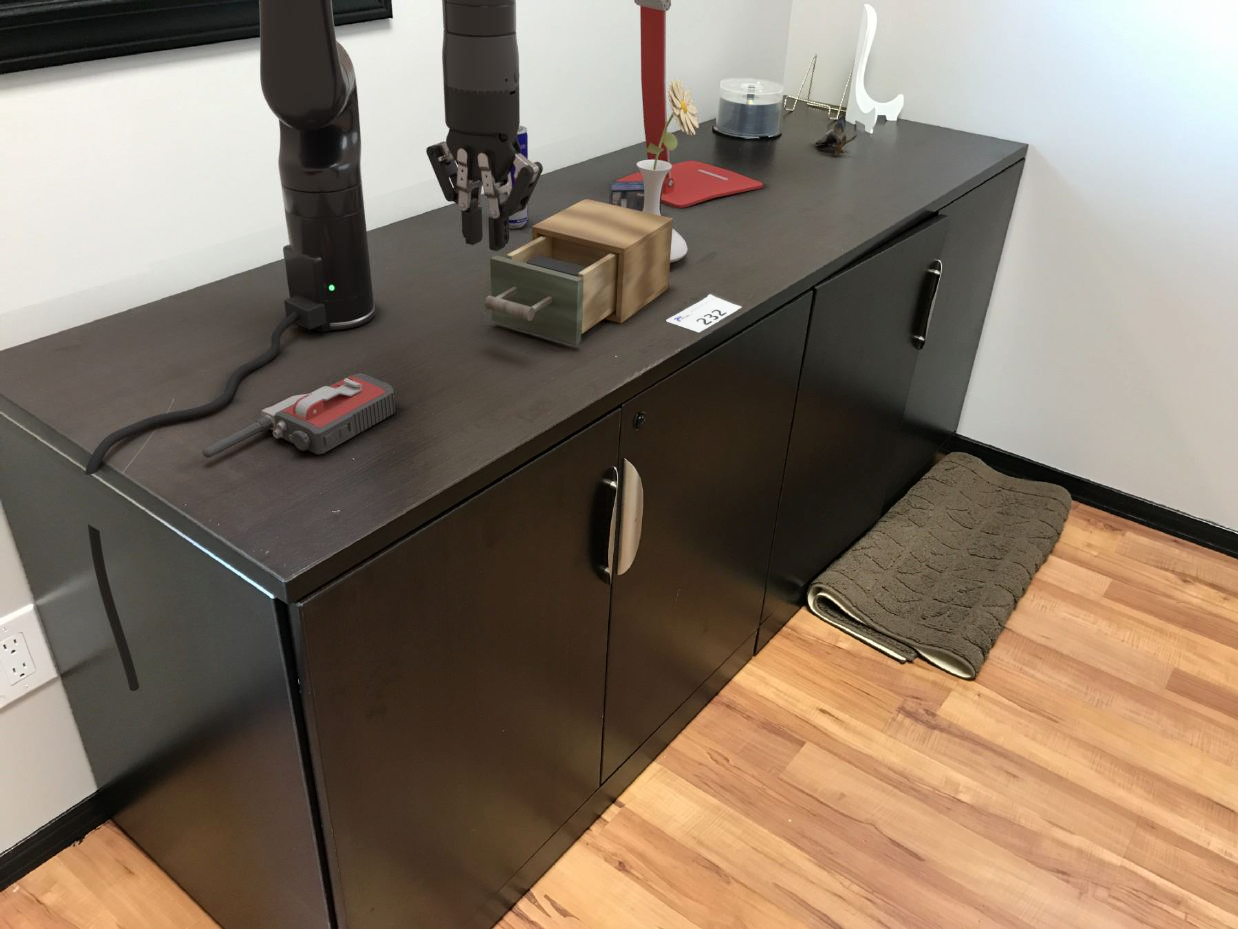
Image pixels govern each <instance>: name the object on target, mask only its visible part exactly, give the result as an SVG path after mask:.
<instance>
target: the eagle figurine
mask: <svg viewBox="0 0 1238 929" xmlns="http://www.w3.org/2000/svg"><path fill="white" fill-rule="evenodd" d="M846 125H847V123H846V116H845V115H844V114H843V115H841V116H840V117H839V118H838V119H837V120H836V122H835V123H834V127H833V129H830V130H828V131H827V132H826V133H824V134H823V136H822V137H821V139H818V140H817V141H816V142H815V145H816V146H817V145H822V146H823V145H826V146H831V147H832V149H834V150H835V151H834V154H833V157H834V158H836V157H837V155H838V154H839V153H840V151H841V152H842V153H844V152H845V151H844V146H845V145H847V144H848V143H850V142H852V141H854V140H855V139H856V138H857V136H858V134H855V135H853V136H851V137H850V138H848V139H847V134H846V133H844V132H845V130H846ZM843 133H844V134H843ZM841 136H842V137H841Z"/></svg>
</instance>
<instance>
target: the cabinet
mask: <svg viewBox="0 0 1238 929" xmlns="http://www.w3.org/2000/svg"><path fill="white" fill-rule="evenodd" d="M673 227H674V218H673V217H668V216H664V215H661V216H660V215H655V214H651V213H646V212H642V211H638V210H633V209H629V208H624V207H620V206H615V205H611V204H609V203H606V202H602V201H597V200H592V199H588V198H585V199H582V200H580V201H579V202H576V203H575V204H572V205H571V206H569V207H567V208H565V209H562V210H561V211H559V212H557V213H555V214H553V215H551V216H549V217H548V218H545V219H543V220H542V221H539V222H538V223H535V224H533V225H532V226H531V242H532V241H534V240H535V239H537V238H539V237H541V236H543V235H546V236H551V237H555V238H559V239H563V240H567V241H571V242H575V243H579V244H583V245H587V246H591V247H595V248H599V249H603V250H608V251H612V252H616V253H619V261H618V283H617V304H616V310H615V311H614V312H612V313H611V314H609V315H608V316H607V317H605V318H604V319H603V320H607V321H611V322H614V323H618V324H622V323H623V322H625V321H627V320H628V319H629V318H631V317H632V316H633V315H635V314H636V313H637V312H638V311H640V310H641V309H643V308H644V307H645V306H647V305H648V304H650V303H651V302H652V301H654V300H655V299H656V298H657V297H659V296H660V295H662V294H663V293H664V292H666V291H668V289H669V282H670V281H669V280H670V269H671V268H670V266H671V263H670V255H671V242H672V229H674V228H673Z"/></svg>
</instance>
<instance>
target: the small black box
mask: <svg viewBox="0 0 1238 929" xmlns="http://www.w3.org/2000/svg"><path fill="white" fill-rule="evenodd" d="M526 263H527V264H531V265H534V266H538V267H542V268H546V269H550V270H554V271H557V272H561V273H565V274H569V275H573V276H577V277H578V273H579V272H581V271H583V270H584V269H586V268H587V267H585V266H581V265H577V264H573V263H569V262H565V261H561V260H557V259H553V258H549V257H545V256H541V255H538V256H537V257H535V258H533V259H531V260H530V261H528V262H526Z"/></svg>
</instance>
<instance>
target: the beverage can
mask: <svg viewBox="0 0 1238 929" xmlns="http://www.w3.org/2000/svg"><path fill="white" fill-rule="evenodd" d="M528 137H529V135H528V128H527V127H526V126H523V125H520V124H519V128H518V132H517V139H518V142H519V145H520V147H521V154H522V155H523V156H524V157H526V158H527V159H528V160H529V138H528ZM510 173H511V181H512V188H513V185H514V183H515V181H516V178H514V174H515V166H514V167H513V169H512V170H511V171H510ZM496 184H498V183H495V185H496ZM511 190H512V189H511ZM510 192H511V191H510ZM528 221H529V202H528V203H527V206H526V208H525V209H524V210H522V211H519V212H517V213H515V214H514V215H512V216H509V229H520V228H522V227H524V226H525V224H527V223H528Z"/></svg>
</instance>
